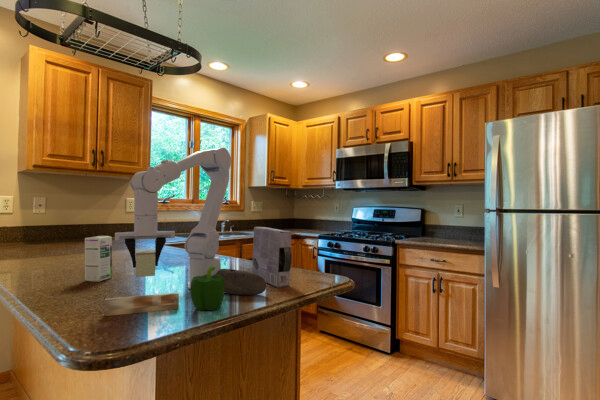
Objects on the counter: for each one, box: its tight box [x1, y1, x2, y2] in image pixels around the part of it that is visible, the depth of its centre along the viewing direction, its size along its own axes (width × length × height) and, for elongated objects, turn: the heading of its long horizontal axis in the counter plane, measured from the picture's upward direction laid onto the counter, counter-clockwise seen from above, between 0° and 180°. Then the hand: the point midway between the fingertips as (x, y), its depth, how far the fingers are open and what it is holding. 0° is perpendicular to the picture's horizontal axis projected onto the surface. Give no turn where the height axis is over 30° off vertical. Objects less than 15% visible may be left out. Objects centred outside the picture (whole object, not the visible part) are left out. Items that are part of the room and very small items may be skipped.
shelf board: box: [104, 292, 180, 317], centre depth 85 cm, size 16×11×4 cm
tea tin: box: [135, 248, 156, 278], centre depth 91 cm, size 8×5×6 cm, turn 26°
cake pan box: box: [251, 226, 293, 289], centre depth 112 cm, size 19×5×18 cm, turn 34°
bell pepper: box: [190, 266, 225, 311], centre depth 83 cm, size 8×8×10 cm
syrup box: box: [84, 235, 113, 283], centre depth 113 cm, size 6×6×14 cm
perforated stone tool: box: [216, 268, 268, 296], centre depth 96 cm, size 15×5×7 cm, turn 75°
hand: (145, 266), depth 90 cm, fingers closed on tea tin, 5 cm apart
